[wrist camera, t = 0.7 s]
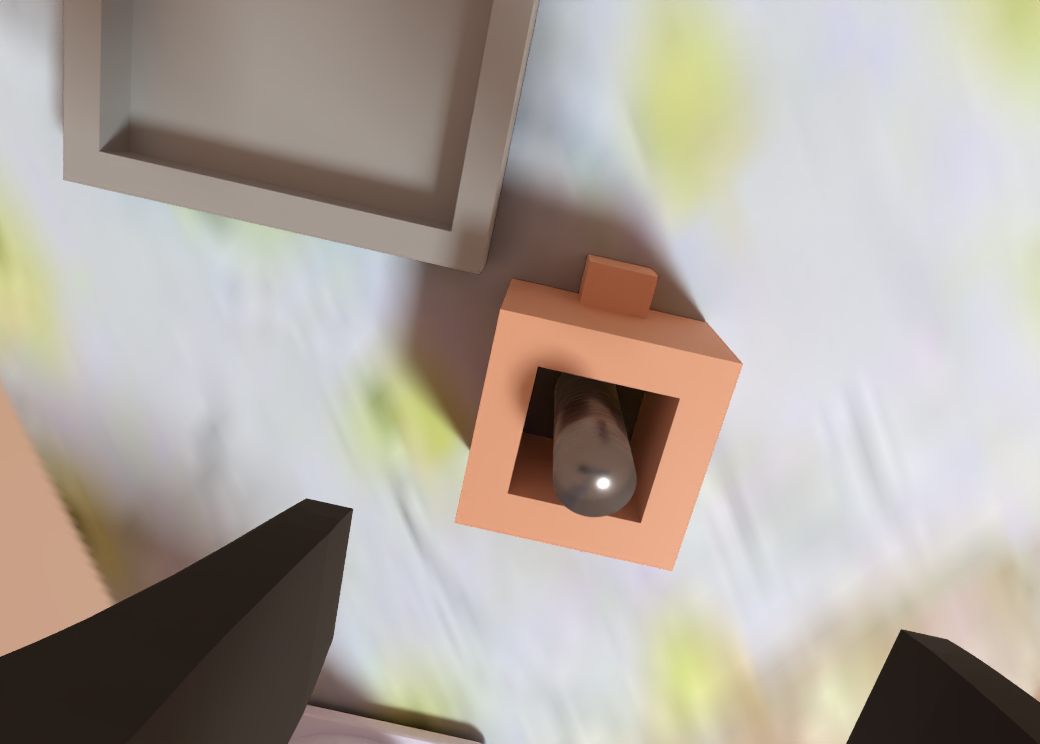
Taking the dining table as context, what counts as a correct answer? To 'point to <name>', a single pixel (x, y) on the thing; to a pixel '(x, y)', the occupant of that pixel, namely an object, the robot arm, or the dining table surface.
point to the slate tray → (304, 113)
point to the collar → (611, 358)
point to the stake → (591, 447)
